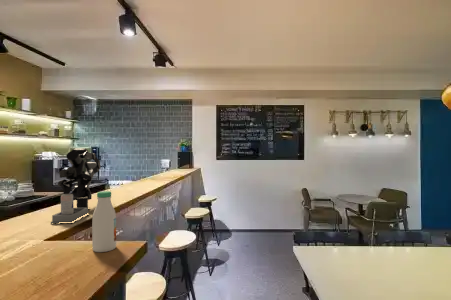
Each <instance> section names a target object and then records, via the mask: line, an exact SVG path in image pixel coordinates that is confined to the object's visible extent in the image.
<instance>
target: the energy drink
mask: <svg viewBox="0 0 451 300" xmlns="http://www.w3.org/2000/svg"><path fill="white" fill-rule="evenodd" d="M73 208H74V200H73V194H72V193H69V194H64V193H63V194H61V196H60V212H61V215H71V214H73V213H74V210H73Z"/></svg>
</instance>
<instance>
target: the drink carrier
mask: <svg viewBox="0 0 451 300" xmlns="http://www.w3.org/2000/svg"><path fill="white" fill-rule="evenodd" d="M88 208H89V207H88ZM88 208H77V207H73V210H74V213H73V214H71V215H61V211H60V212H58V213H55V214H53V215H52V217H51V218H52V219H51V222H50V224H51V223H59V222H72V221H74V220H76V219H77V218H79V217H81V216H83V215H85V214H87V213H89V210H88Z"/></svg>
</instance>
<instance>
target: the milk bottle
mask: <svg viewBox="0 0 451 300" xmlns="http://www.w3.org/2000/svg"><path fill="white" fill-rule="evenodd" d="M96 196H97V197H96V198H97V203H96V206H95V208H94V211H93V214H92V220H91V221H92V222H91V223H92V226H91V227H92V228H91V231H92V233H91V235H92V240H91V241H92V244H91V245H92V246H91V247H92V251H93V252H95V253H104V252H110V251H113V250H115V249H116V247H117V214H116V210H115V208H114V206H113V204H112V201H111V200H112V199H111V198H112V191H107V190H106V191H105V190H104V191H97V193H96Z"/></svg>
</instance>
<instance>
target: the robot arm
mask: <svg viewBox="0 0 451 300" xmlns="http://www.w3.org/2000/svg"><path fill="white" fill-rule="evenodd" d="M66 159H67V160H68V162H69V163H70V164H71V166H70V167H69V166H68V167H67V169H62V170H60V171H59V172H58V174H59V178H66V179H61V180H59V181H58V183H57V186H58V187H60V188H61V189H62V193H63V194H73V201H76V208H89V200H92V192H91V190H90V184H91V182H92V179H93V177H94V175H95V174H96V173H98V172H99V171H100V169H101V166H102V165H101V161H100V159H99V158H98V157H97V156H96V153H94V152H90V151H89V150H88V149H87V148H74V149H71V151H69V152H67V154H66ZM84 160H85V161H84ZM88 160H93V161H88ZM84 168H85V170H84ZM74 183H75V185H74V187H73V184H74ZM72 187H73V188H72ZM71 191H72V192H71ZM70 192H71V193H70Z"/></svg>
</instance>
